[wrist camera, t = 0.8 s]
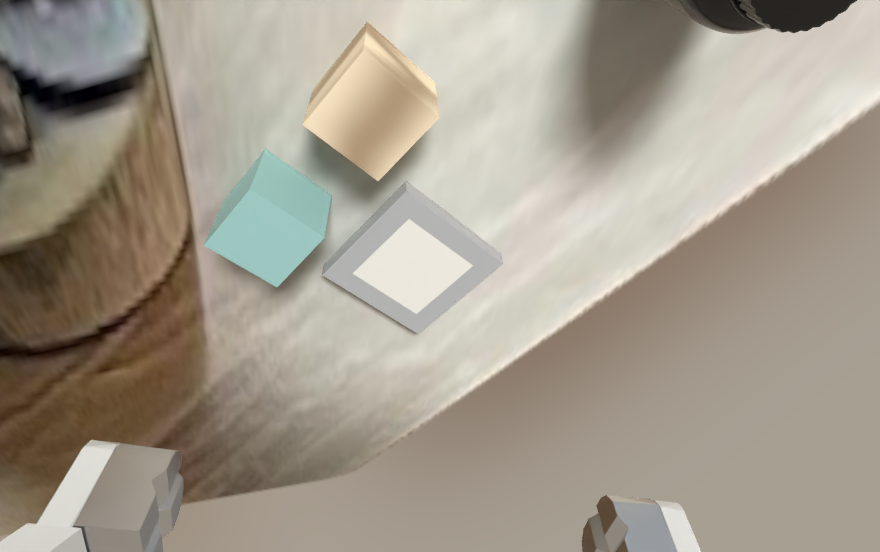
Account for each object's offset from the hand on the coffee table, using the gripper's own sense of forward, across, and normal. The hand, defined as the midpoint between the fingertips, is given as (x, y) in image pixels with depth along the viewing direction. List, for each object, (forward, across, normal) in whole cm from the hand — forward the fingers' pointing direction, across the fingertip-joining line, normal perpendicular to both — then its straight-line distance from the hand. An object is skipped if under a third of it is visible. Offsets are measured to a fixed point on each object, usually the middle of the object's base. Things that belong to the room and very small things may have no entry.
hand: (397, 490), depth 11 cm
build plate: (+28, -2, +12) cm, 31 cm away
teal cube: (+28, +8, +9) cm, 30 cm away
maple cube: (+27, +2, 0) cm, 27 cm away
